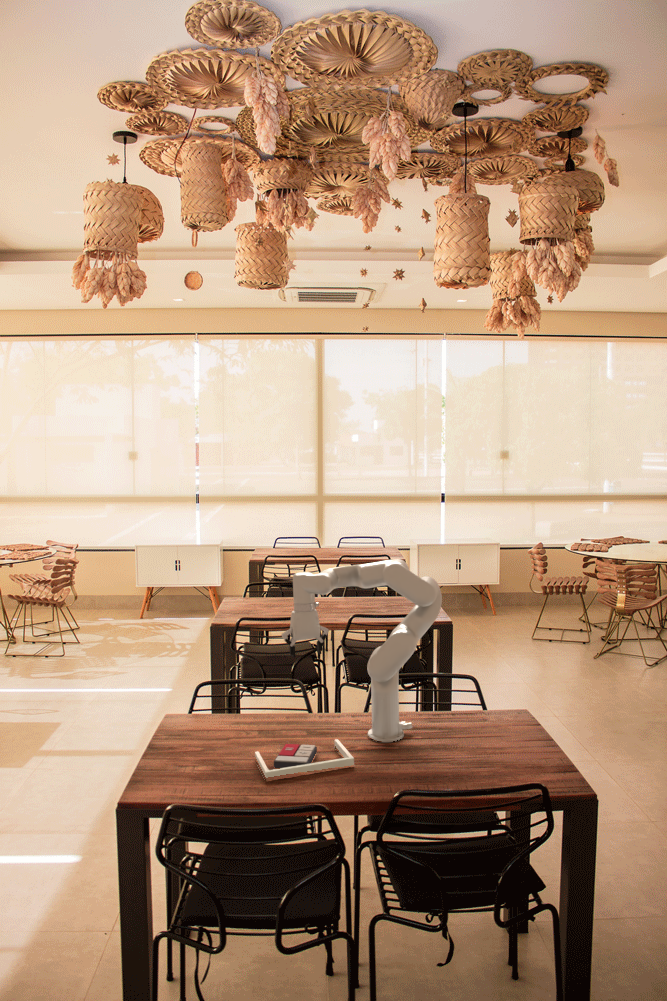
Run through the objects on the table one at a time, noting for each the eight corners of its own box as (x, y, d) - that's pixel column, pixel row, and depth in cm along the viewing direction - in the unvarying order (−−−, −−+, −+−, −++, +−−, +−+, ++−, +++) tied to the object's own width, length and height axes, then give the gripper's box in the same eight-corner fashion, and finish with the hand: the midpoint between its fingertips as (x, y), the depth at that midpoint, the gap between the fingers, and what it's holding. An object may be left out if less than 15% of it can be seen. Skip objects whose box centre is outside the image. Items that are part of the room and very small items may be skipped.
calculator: (317, 743, 235) (307, 760, 220) (317, 756, 235) (307, 774, 221) (284, 742, 237) (273, 759, 222) (285, 755, 237) (273, 772, 222)
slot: (338, 747, 240) (337, 739, 239) (354, 767, 224) (353, 758, 224) (255, 760, 231) (254, 751, 231) (266, 782, 216) (265, 772, 215)
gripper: (324, 602, 258) (326, 649, 259) (278, 607, 252) (280, 655, 253) (331, 606, 251) (332, 654, 252) (283, 611, 245) (285, 660, 246)
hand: (306, 654), depth 252 cm, fingers open, 9 cm apart
